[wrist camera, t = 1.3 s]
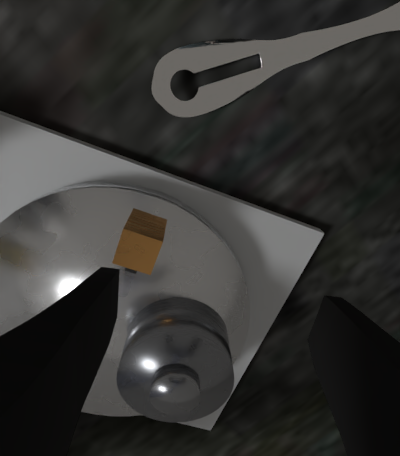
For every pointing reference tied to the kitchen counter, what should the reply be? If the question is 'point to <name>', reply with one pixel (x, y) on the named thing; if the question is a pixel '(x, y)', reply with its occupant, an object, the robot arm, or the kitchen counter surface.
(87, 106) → the kitchen counter surface
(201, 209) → the base plate
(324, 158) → the kitchen counter surface
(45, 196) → the turntable
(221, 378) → the cover
